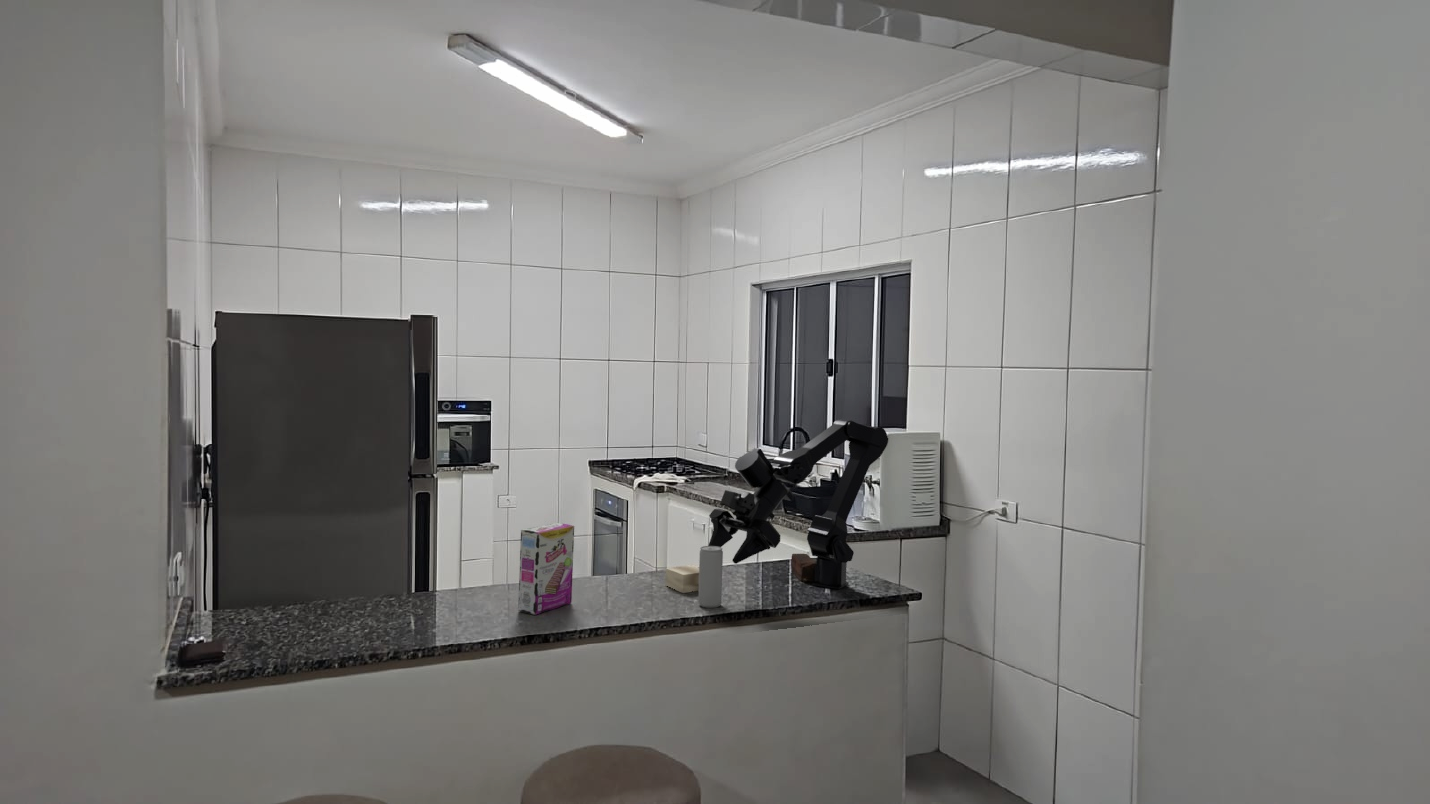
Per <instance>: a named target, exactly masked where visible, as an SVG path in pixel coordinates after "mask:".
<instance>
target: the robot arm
mask: <svg viewBox="0 0 1430 804" xmlns="http://www.w3.org/2000/svg"><path fill="white" fill-rule="evenodd" d="M846 441H847V442H849V443H848V452H849V459H848V462H847V463H846V466H845V468H844V470H843V473H842V475H841V477H840V478H839V479H840V480H839V482H838V484H837V486H836V489H835V491H834V492H833V496H832V498H831V500H830V502H829V505H828V507H827V509H826V511H825V513H823V514H822V515H816V514H815V515H814V516H813V518H812V520H811V524H810V526H809V528H807V530H806V531H807V533H808V534H807V538H806V540H807V544H808V546H809V548H810V553H811V555H812V556H813V557H816V561H815V562H816V563H815V564H814V581H815V582H812V586H817V587H821V588H829V589H835V590H840V589H842V588H844V587H846V586H848V585H849V581H847V563H849V562H851V561H852V559H853V558H854V557H853V556H854V554H855V553H854V550H853V549H852V547H851V546H850V545H849V544H848V542H846V541H847V538H848V533H849V532H848V525H847V519H848V517H849V515H850V513H851V510H852V508H853V505H854V503H855V501H856V498H857V496H858V494H859V491H860V489H861V488H862V486H863V481H864V480H865V477H866V475H867V473H868V471H869V469H870V467H871V465H873V464H874V463H875V462H876V461H877V460H878V459H880V458H881V456H882V455H883V453H884V451H885V450H886V448H887V446H888V443H889V436H888V433H887V432H886V430H885V429H884V428H883V427H882V426H881V427H880V426H870V425H863V424H860V423H857V422H855V421H853V420H851V419H850V420H849V419H840V418H839V419H837V420H834V422H833V424H832V425H830V426H829V427H827V428H826V429H825V430H823V431H822V432H821V433H819V434H818V435H816V436H815V437H813V438H812V439H811V440H810V441H808V442H807V443H804V445H802V446H801V447H799V448H797V449H792V450H790V451H786V452H784V453H782V454H779V455H777V456H776V457H774V459H773V460H769V459H768V458H767V456H766V455H765V453H764V451H763V450H762V449H761V448H758V447H754V448H753V449H752V450H751V451H749V452H748V451H747V452H746V453H744V454H743V455H742V456H740V457H739V458H738V459H737V460H736V462H735V464H734V468H735V470H736V471H737V473H738V474H739V475H740V476H741V477H742V478H743V480H744V481H745V482H746V483H747V485H748V486H749V487H750V488H753V489H754V488H756V490H755V491H754V493H752V492H749V491H744V492H743V493H740V492H736V491H732V490H727V489H725V490H724V492H723V495H722V498H721V499H720V502H719V505H721V506H725V507H726V508H729V509H731V513H732V514H731V513H730V511H728V510H726V509H721V508H714V509H713V510H712V511H711V513H710V514H709V515H708V517H709V519H710V522H711V523H712V527H713V530H712V535H711V538H710V540H709V543H708V545H707V546H718V547H721V548H723V546H724V545H726V544H727V543H728V542H730V541H731V540H732V539H733V538H734V537H733V535H735V534H737V532H738V531H742V532H746V537H745V539H744V540H743V542H742V544H741V545H740V547H739V548H738V550H737V551H736V553H735V554H734V555H733V558H732V562H733V563H734V564H738V563H740V562H743V561H744V560H746V559H749V558H750V557H753V556H754V555H756V554H759V553H761V552H763V551H764V552H765V550H768V551H769V550H771V548H773V549H776V548H777V547H778V545H779V544H780V542H781V534H780V533H779V532H778V530H777V529H776V527H775V526H774V525H773V524H772V523H771V521H769V520H773V519H774V518H775V517H776V516H775V514H774V511H775V510H776V509H777V507H778V506H779V505H780V503H781V502H782V501H783V500H786V501H790V502H792V501H793V500H794V495H793V488H791V487H789V486H788V487H787V486H786V484H785V483H789V484H794V485H798V484H801V483H803V482H804V481H805V480H806V479H807V477H808V476H810V474H811V473H812V472H813V469H814V467H815V465H816V464H817V463H818V462H819V461H820V460H822V459H823V458H825V457H826V456H827V455H829V454H830V453H832V452H833V451H834V450H835V449H836V448H838V447H839V446H841V445H842V444H844V443H845V442H846ZM784 482H785V483H784ZM734 516H735V517H734Z"/></svg>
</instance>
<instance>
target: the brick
mask: <svg viewBox="0 0 1430 804" xmlns="http://www.w3.org/2000/svg"><path fill="white" fill-rule="evenodd" d="M815 563H816V561H815V560H814V559H813V558H812V557H810V556H809V554H807V553H792V554H791V563H790V566H791V570H792V571H791V572H792V574H794V576H795V577H796V578H797V579H798V581H800V582H802V583H804V582H805V583H806V582H810V583H814V582H816V581H814V564H815Z"/></svg>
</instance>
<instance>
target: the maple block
mask: <svg viewBox="0 0 1430 804" xmlns="http://www.w3.org/2000/svg"><path fill="white" fill-rule="evenodd" d="M667 586H669V587H671V588H670V589H672V588H673V589H672V590H674V589H675V590H674V591H676V592H680V593H682V594H685V593H691V592H692V591H693V592H699V566H696V565H693V564H688V565H681V566H675V567H673V566H672V567H667V568H665V587H667ZM669 587H668V588H669Z"/></svg>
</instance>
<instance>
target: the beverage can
mask: <svg viewBox="0 0 1430 804" xmlns="http://www.w3.org/2000/svg"><path fill="white" fill-rule="evenodd" d="M723 555H724V551H723V547H718V546H708V545H703V546H701V547H700V550H699V559H698V561H699V562H698V563H699V566H698V567H699V591H698V604H699V606H700V607H703V608H707V609H715V608H718V607H720V606H721V605H722V599H723V597H722V595H723V593H722V591H723V589H722V588H723V562H724V560H723V559H724V556H723Z"/></svg>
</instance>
